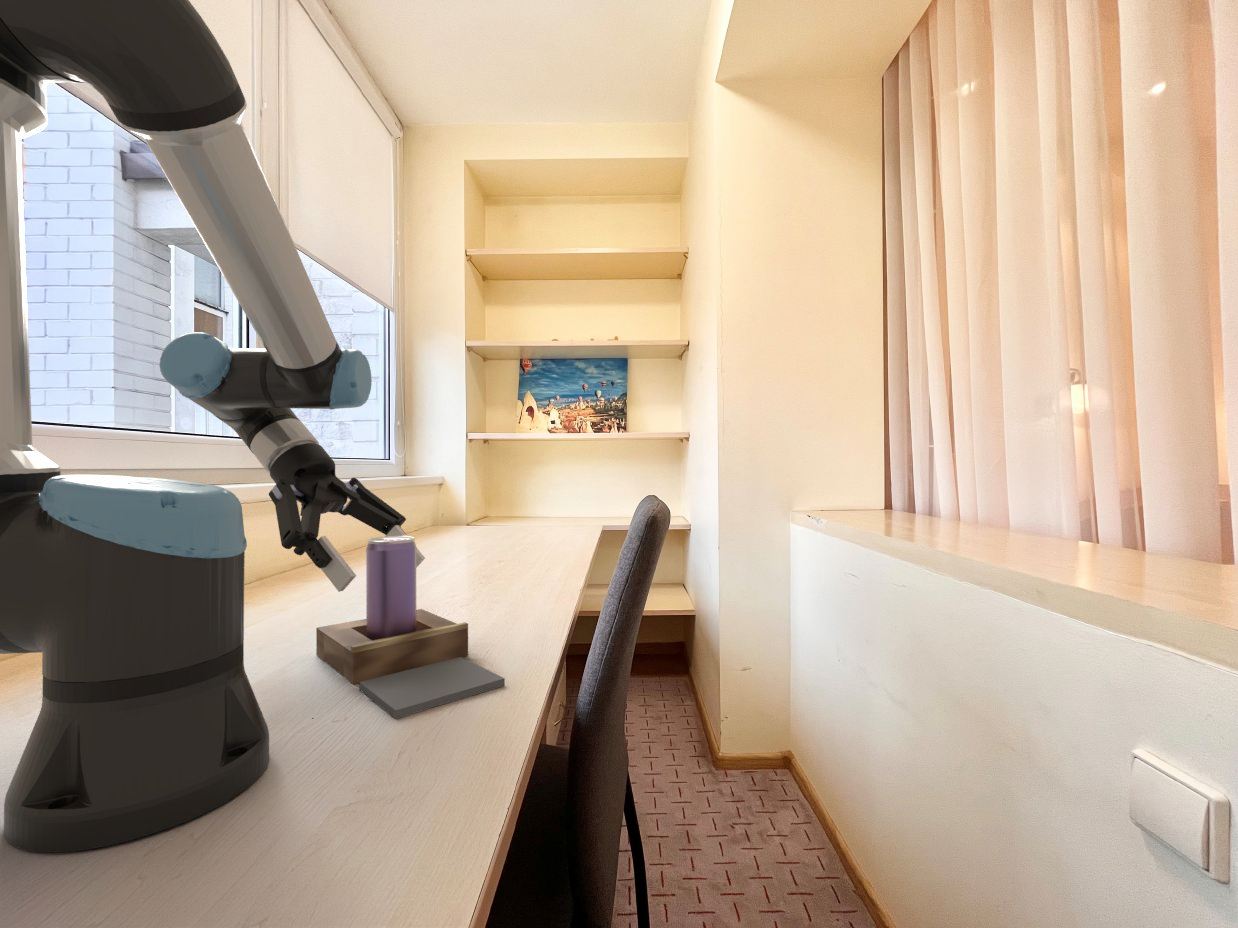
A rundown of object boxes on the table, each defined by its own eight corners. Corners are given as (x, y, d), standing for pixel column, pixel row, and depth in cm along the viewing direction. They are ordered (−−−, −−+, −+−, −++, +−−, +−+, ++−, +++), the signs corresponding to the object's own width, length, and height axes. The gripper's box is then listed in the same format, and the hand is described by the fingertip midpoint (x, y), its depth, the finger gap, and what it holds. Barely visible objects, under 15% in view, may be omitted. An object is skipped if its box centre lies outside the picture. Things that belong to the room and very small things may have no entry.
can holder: (353, 684, 63) (353, 647, 63) (316, 654, 73) (316, 622, 73) (468, 655, 73) (468, 623, 73) (421, 632, 83) (421, 604, 83)
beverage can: (405, 663, 70) (405, 541, 70) (357, 663, 70) (357, 541, 70) (423, 647, 76) (423, 535, 76) (379, 647, 76) (378, 535, 76)
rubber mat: (395, 718, 54) (395, 710, 54) (359, 689, 62) (359, 681, 62) (504, 685, 62) (504, 678, 63) (461, 663, 70) (461, 656, 70)
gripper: (346, 477, 92) (426, 575, 87) (190, 480, 68) (290, 616, 64) (373, 443, 90) (456, 542, 86) (225, 435, 66) (329, 571, 62)
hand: (386, 573), depth 75 cm, fingers open, 13 cm apart
